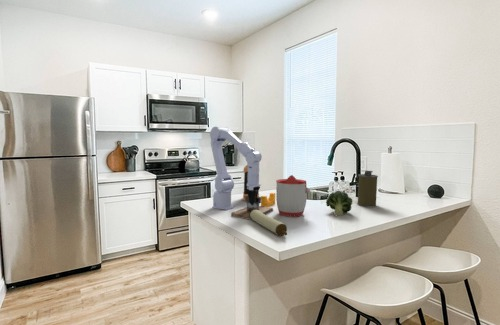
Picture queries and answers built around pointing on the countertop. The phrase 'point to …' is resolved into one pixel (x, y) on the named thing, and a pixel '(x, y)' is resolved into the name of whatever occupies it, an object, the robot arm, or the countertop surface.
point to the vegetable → (339, 202)
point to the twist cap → (253, 206)
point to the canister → (367, 189)
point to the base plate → (245, 214)
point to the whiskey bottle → (246, 182)
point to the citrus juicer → (291, 196)
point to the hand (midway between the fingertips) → (253, 201)
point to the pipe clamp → (268, 200)
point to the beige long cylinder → (268, 222)
